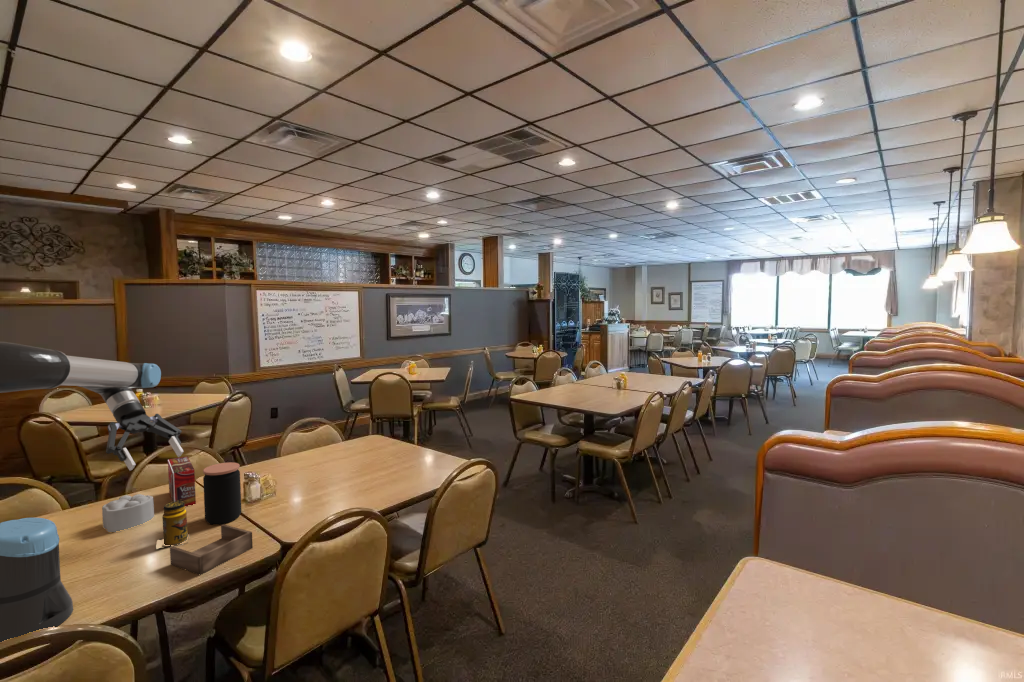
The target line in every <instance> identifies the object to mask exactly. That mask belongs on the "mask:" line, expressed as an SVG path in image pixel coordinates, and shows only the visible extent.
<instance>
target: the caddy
mask: <svg viewBox="0 0 1024 682" xmlns="http://www.w3.org/2000/svg"><path fill="white" fill-rule="evenodd" d="M220 533H221V534H220V535H221V537H220V538H219V539H217V540H215V541H212V542H211V543H208V544H206V545H204V546H202V547H200V548H198V549H195V550H194V551H189V550H187V549H182V548H179V547H177V546H173V547H169V553H170V554H169V556H170V560H169V561H170V566H173V567H176V568H178V567H179V568H178V569H181V568H182V570H184V569H186V570H185V571H187V570H188V571H187V572H190V571H191V572H190V573H193V572H194V574H196V575H199V574H200V575H199V576H201V574H202V575H203V573H204V574H205V573H207V572H209V571H211V570H214V569H215V568H217V567H219V566H221V565H222V563H223V564H224V562H225V563H226V561H227V562H228V560H229V561H230V559H231V560H232V559H234V558H236V557H239V556H240V555H242V554H244V553H246V552H248V551H250V550H251V549H253V548H254V546H253V544H254V543H253V531H250V530H247V529H242V528H238V527H235V526H232V525H227V524H226V523H225V524H220ZM220 564H221V565H220ZM218 565H219V566H218ZM216 566H217V567H216ZM214 567H215V568H214Z"/></svg>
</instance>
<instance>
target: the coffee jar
mask: <svg viewBox="0 0 1024 682" xmlns="http://www.w3.org/2000/svg"><path fill="white" fill-rule="evenodd" d="M202 473H203V475H204V476H203V478H202V480H203V481H202V482H203V483H202V484H203V503H204V507H203V508H204V520H205V522H207V524H209V523H210V525H213V524H219V525H223V524H224V523H225V524H228V523H231V522H233V521H235V519H236V520H237V519H238V518H239V517H240V516H241V513H242V493H241V491H242V489H241V470H240V464H239V463H238V462H233V461H232V462H231V461H230V462H220V463H216V464H211V465H208V466H206V467H204V468H203V471H202Z"/></svg>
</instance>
